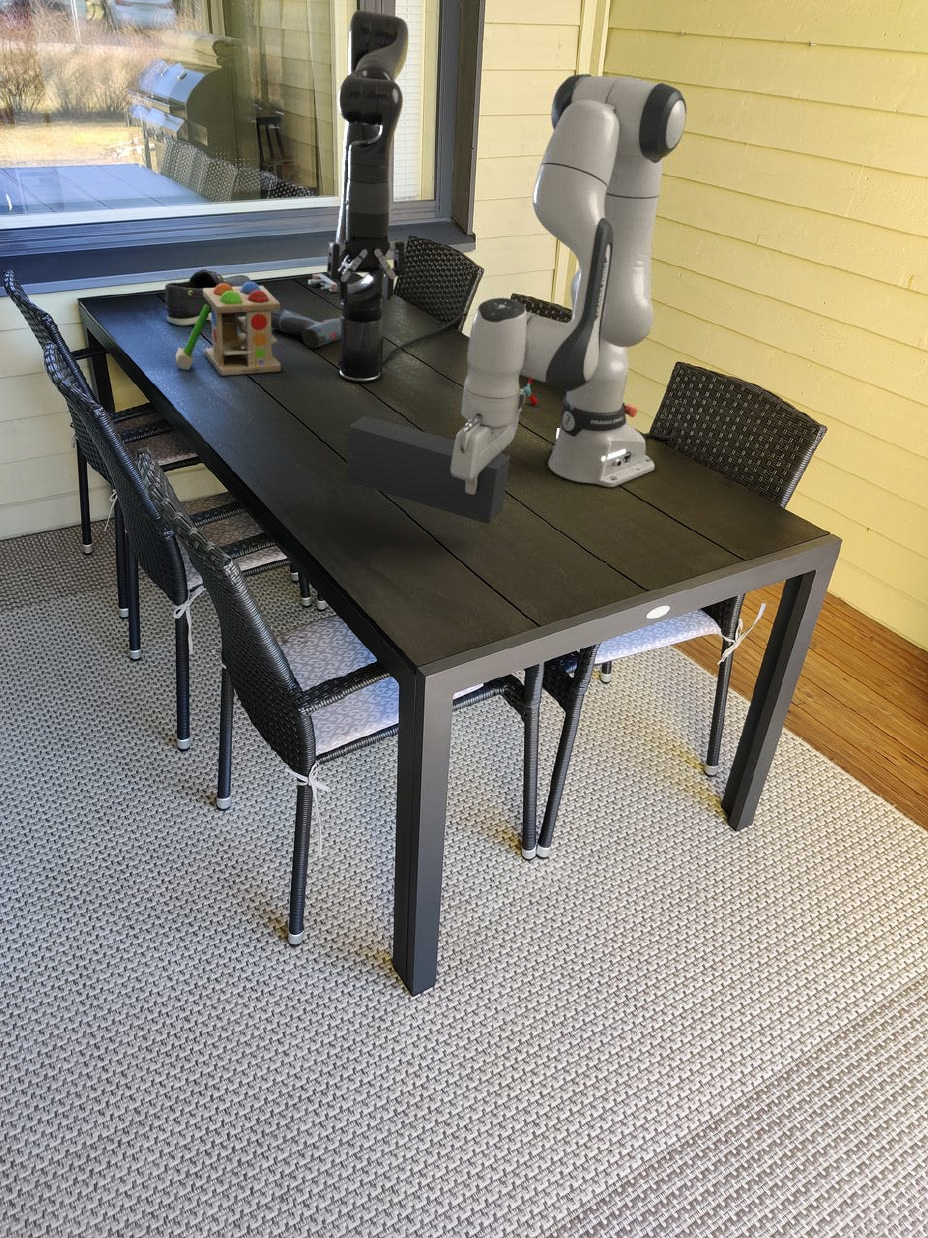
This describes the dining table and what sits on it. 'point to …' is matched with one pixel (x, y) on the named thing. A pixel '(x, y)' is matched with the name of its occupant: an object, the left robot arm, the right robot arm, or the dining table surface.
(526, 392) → the molecular model
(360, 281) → the left robot arm
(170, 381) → the dining table surface
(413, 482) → the box
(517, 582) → the dining table surface
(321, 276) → the clamp
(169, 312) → the boat shoe
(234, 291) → the pounding bench toy
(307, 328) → the power drill
